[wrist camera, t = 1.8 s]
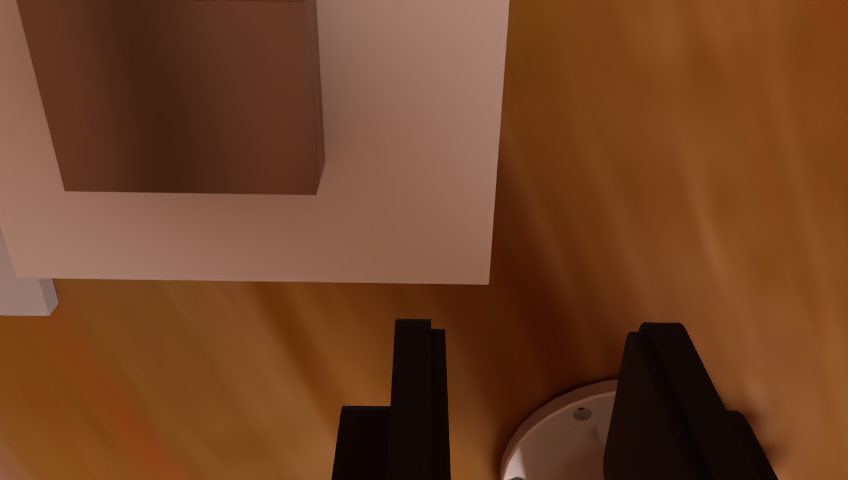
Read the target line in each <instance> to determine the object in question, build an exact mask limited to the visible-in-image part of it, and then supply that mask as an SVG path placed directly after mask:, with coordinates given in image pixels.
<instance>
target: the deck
mask: <svg viewBox="0 0 848 480" xmlns="http://www.w3.org/2000/svg"><path fill="white" fill-rule="evenodd" d="M316 4H317V22H318V41H319V59H320V77H321V95H322V113H323V131H324V150H325V165H324V169H323V172H322V176H321V180H320V183H319V187H318V191H317V194H316V195H271V194H205V193H139V192H73V191H64V187H63V183H62V179H61V175H60V171H59V167H58V163H57V159H56V155H55V151H54V147H53V143H52V139H51V135H50V131H49V128H48V124H47V120H46V116H45V112H44V108H43V104H42V100H41V96H40V92H39V88H38V84H37V80H36V76H35V72H34V68H33V64H32V61H31V57H30V53H29V49H28V45H27V41H26V37H25V33H24V29H23V25H22V21H21V17H20V13H19V9H18V5H17V1H16V0H0V227H1V230H2V233H3V236H4V239H5V243H6V246H7V249H8V252H9V256H10V259H11V262H12V265H13V268H14V272H15V275H16V278H64V279H134V280H204V281H274V282H345V283H415V284H485V285H489V274H490V260H491V247H492V233H493V219H494V205H495V192H496V178H497V164H498V150H499V137H500V123H501V109H502V95H503V82H504V68H505V54H506V40H507V27H508V13H509V0H316Z"/></svg>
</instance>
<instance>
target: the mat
mask: <svg viewBox="0 0 848 480" xmlns="http://www.w3.org/2000/svg"><path fill="white" fill-rule="evenodd" d="M58 303H59V302H58V298H57V295H56V291H55V288H54V284H53V281H52V278H16V275H15V272H14V268H13V265H12V262H11V259H10V256H9V252H8V249H7V246H6V243H5V239H4V236H3V233H2V230H1V227H0V315H22V316H49V315H50V314H51V313H52V311H53V310H54V309H55V307H56V306H57V305H58Z"/></svg>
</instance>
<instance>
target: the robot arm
mask: <svg viewBox="0 0 848 480" xmlns="http://www.w3.org/2000/svg"><path fill="white" fill-rule="evenodd" d="M332 480H451V471H450V446H449V420H448V394H447V368H446V342H445V329H431V319H396V320H395V335H394V353H393V371H392V388H391V406H343V407H342V410H341V415H340V422H339V429H338V436H337V443H336V451H335V458H334V465H333V473H332ZM500 480H778V478H777V476H776V474H775V472H774V471H773V469H772V467H771V465H770V463H769V461H768V459H767V457H766V455H765V453H764V451H763V449H762V448H761V446H760V444H759V442H758V440H757V438H756V436H755V434H754V432H753V430H752V428H751V427H750V425H749V423H748V421H747V420H746V418H745V417H744V415H743V414H741V413H740V412H738V411H727V410H726V409H725V408H724V405H723V403H722V401H721V399H720V397H719V395H718V393H717V391H716V389H715V387H714V385H713V383H712V381H711V379H710V377H709V375H708V373H707V371H706V369H705V367H704V365H703V363H702V361H701V359H700V357H699V355H698V353H697V351H696V349H695V347H694V345H693V343H692V341H691V339H690V337H689V335H688V333H687V331H686V329H685V327H684V326H683V324H681V323H651V322H644V323H642V324H641V326H640V328H639V331H638V332H629V333H628V335H627V338H626V343H625V348H624V353H623V358H622V364H621V369H620V374H619V379H617V380H609V381H602V382H598V383H595V384H591V385H588V386H584V387H581V388H577V389H575V390H573V391H571V392H568V393H566V394H564V395H562V396H559V397H557V398H555V399H554V400H552V401H551V402H549V403H547V404H546V405H544V406H543V407H541V408H540V409H538V410H537V411H536V412H534V413H533V414H532V415H531V416H530V417H529V418H528V419H527V420H526V421H525V422H524V423H522V424H521V426H520V427H519V428H518V430H517V431H516V432H515V434H514V435H513V436H512V438H511V439H510V440H509V443H508V445H507V447H506V450H505V452H504V454H503V456H502V462H501V468H500Z"/></svg>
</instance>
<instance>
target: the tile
mask: <svg viewBox="0 0 848 480" xmlns="http://www.w3.org/2000/svg"><path fill="white" fill-rule="evenodd" d="M16 1H17V5H18V9H19V13H20V17H21V21H22V25H23V29H24V33H25V37H26V41H27V45H28V49H29V53H30V57H31V61H32V64H33V68H34V72H35V76H36V80H37V84H38V88H39V92H40V96H41V100H42V104H43V108H44V112H45V116H46V120H47V124H48V128H49V131H50V135H51V139H52V143H53V147H54V151H55V155H56V159H57V163H58V167H59V171H60V175H61V179H62V183H63V187H64V191H73V192H139V193H205V194H271V195H316V194H317V191H318V187H319V183H320V180H321V176H322V172H323V169H324V165H325V150H324V131H323V113H322V95H321V77H320V59H319V41H318V22H317V4H316V0H16Z"/></svg>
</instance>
